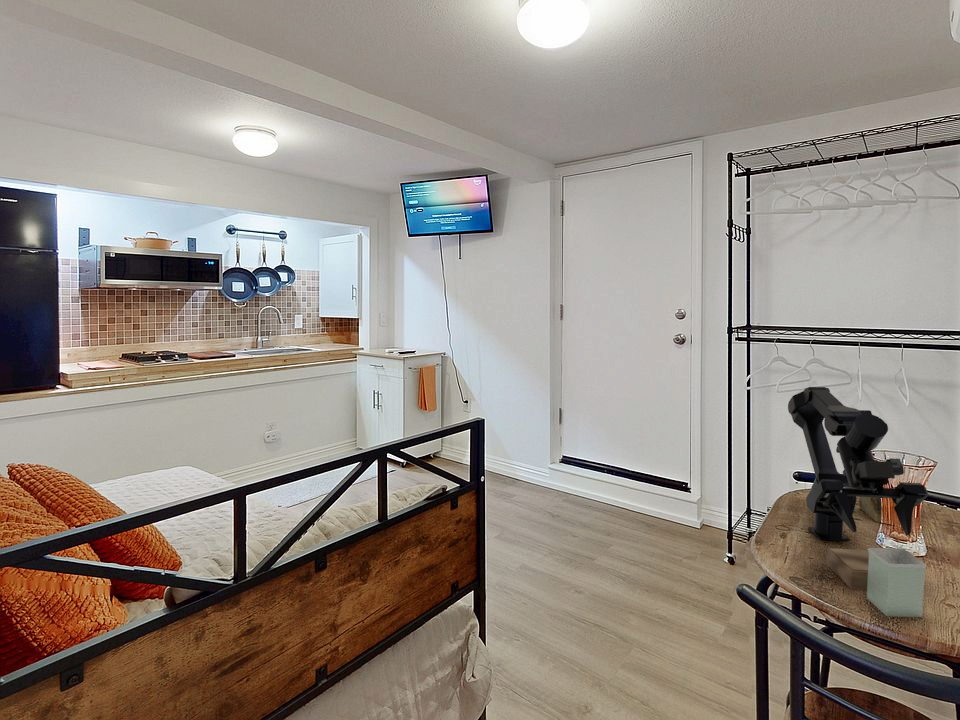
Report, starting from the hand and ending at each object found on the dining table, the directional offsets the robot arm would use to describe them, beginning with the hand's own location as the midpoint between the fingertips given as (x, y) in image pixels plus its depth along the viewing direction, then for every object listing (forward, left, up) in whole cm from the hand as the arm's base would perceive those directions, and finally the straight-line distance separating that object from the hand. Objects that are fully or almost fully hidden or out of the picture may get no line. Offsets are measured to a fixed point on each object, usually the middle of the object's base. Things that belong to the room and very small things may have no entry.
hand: (881, 533), depth 105 cm
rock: (-37, +21, -12) cm, 45 cm away
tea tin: (+6, -1, -12) cm, 13 cm away
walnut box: (-5, 0, -12) cm, 13 cm away
